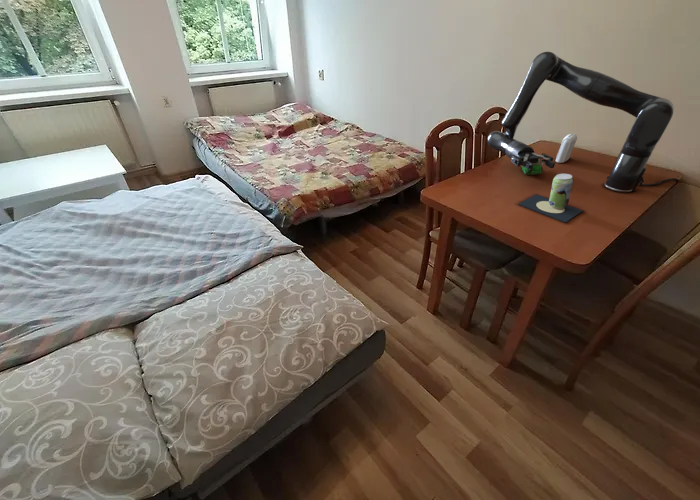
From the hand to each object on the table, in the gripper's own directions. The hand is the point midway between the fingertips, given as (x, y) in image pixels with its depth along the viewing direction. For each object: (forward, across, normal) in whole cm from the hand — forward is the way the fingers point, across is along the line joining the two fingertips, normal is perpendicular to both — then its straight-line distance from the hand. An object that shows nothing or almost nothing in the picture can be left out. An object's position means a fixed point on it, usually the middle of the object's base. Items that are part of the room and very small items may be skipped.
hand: (542, 166), depth 121 cm
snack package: (-22, +12, +12) cm, 28 cm away
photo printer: (-34, +36, +12) cm, 50 cm away
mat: (+11, 0, +12) cm, 16 cm away
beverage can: (+11, +2, +11) cm, 16 cm away
